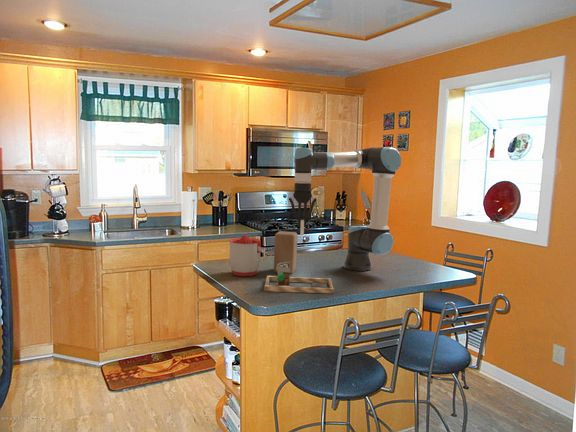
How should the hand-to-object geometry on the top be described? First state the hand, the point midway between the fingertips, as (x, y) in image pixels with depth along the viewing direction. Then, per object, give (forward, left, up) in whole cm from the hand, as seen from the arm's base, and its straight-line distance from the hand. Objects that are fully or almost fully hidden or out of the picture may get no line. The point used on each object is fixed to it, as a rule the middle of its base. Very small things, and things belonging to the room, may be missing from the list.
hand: (302, 234), depth 205 cm
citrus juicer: (+27, -15, -24) cm, 38 cm away
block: (+8, -24, -24) cm, 34 cm away
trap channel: (+1, +4, -23) cm, 24 cm away
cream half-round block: (+8, +4, -24) cm, 25 cm away
